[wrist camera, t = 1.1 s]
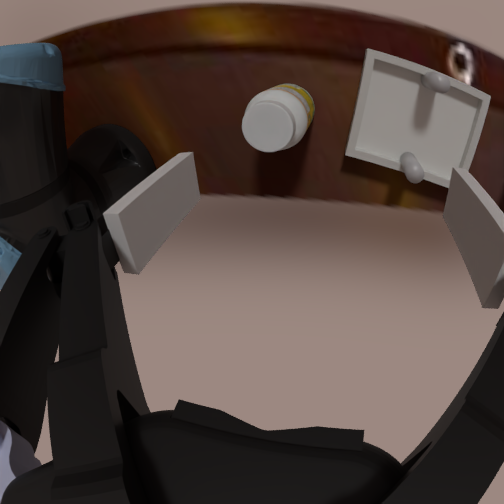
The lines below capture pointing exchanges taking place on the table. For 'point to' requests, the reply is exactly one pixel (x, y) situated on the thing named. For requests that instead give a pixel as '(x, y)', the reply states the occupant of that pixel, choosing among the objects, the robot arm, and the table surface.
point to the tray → (415, 119)
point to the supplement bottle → (278, 118)
